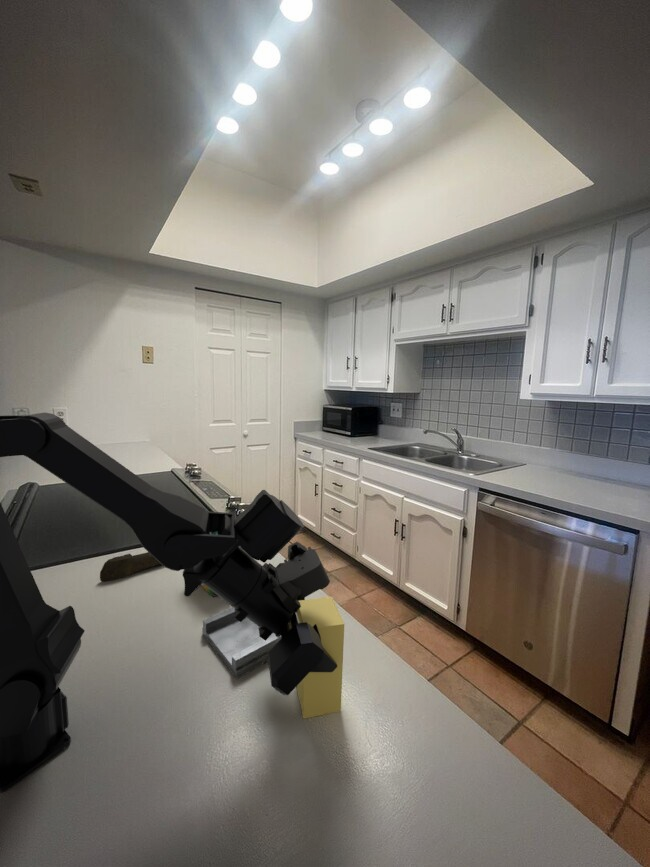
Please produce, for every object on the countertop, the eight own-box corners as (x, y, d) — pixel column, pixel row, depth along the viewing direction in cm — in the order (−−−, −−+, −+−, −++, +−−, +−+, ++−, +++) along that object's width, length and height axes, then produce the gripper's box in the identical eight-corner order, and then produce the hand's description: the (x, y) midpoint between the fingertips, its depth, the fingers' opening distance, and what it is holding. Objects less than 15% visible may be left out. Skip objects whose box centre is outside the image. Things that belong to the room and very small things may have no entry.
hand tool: (187, 552, 90) (186, 535, 89) (193, 559, 87) (192, 541, 86) (97, 576, 78) (96, 556, 77) (101, 585, 74) (99, 564, 74)
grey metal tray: (236, 678, 52) (236, 646, 51) (202, 634, 61) (201, 605, 60) (311, 635, 61) (312, 607, 60) (272, 602, 70) (272, 577, 69)
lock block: (303, 718, 46) (305, 629, 44) (295, 681, 52) (297, 600, 50) (340, 711, 47) (344, 623, 46) (329, 675, 53) (331, 596, 51)
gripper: (306, 575, 36) (399, 656, 41) (281, 510, 54) (348, 572, 59) (226, 658, 36) (330, 732, 40) (228, 564, 53) (299, 623, 58)
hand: (328, 650), depth 49 cm, fingers closed on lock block, 6 cm apart
